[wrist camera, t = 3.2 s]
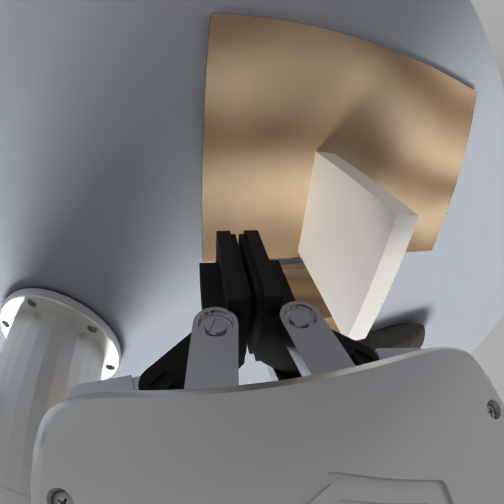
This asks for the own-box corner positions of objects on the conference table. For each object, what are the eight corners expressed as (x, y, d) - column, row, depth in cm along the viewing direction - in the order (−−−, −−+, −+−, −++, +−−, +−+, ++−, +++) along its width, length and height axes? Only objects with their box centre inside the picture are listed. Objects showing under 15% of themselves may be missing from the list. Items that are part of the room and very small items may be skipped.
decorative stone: (421, 310, 30) (439, 335, 26) (407, 342, 33) (421, 365, 30) (285, 355, 28) (296, 388, 25) (286, 382, 32) (295, 412, 29)
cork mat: (427, 246, 23) (431, 250, 23) (202, 256, 19) (202, 261, 19) (471, 90, 15) (476, 91, 14) (211, 15, 11) (211, 13, 10)
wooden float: (347, 301, 25) (371, 342, 21) (239, 312, 23) (251, 362, 19) (363, 256, 23) (394, 297, 19) (243, 263, 21) (257, 314, 17)
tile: (316, 250, 20) (368, 337, 14) (297, 251, 20) (345, 342, 13) (336, 153, 16) (422, 216, 10) (315, 151, 16) (396, 214, 9)
